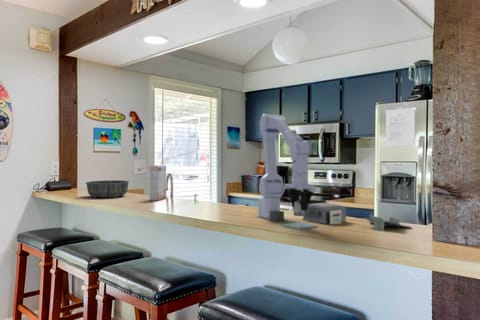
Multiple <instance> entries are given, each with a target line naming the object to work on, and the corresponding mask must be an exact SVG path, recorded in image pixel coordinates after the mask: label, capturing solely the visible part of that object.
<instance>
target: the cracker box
mask: <svg viewBox="0 0 480 320" xmlns="http://www.w3.org/2000/svg"><path fill="white" fill-rule="evenodd" d="M165 187H166V188H167V165H165V164H164V165H163V164H159V165H158V164H157V165H149V201H150V202H151V201H156V202H159V201H161V200H165V199H167V189H166V190H165Z"/></svg>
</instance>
